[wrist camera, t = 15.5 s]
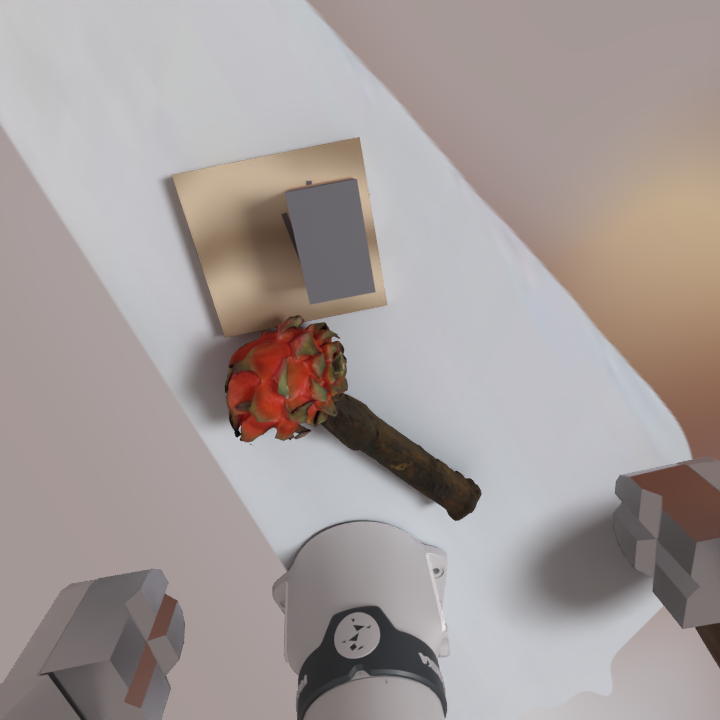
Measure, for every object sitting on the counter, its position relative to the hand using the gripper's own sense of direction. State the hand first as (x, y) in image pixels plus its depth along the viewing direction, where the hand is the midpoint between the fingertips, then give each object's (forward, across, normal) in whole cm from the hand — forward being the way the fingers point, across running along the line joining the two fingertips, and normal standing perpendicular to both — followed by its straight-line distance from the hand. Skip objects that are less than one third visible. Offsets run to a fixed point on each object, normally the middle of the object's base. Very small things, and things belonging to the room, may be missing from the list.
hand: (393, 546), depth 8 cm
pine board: (+29, -4, +2) cm, 29 cm away
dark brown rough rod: (+29, +1, -18) cm, 34 cm away
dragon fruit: (+29, -6, -8) cm, 30 cm away
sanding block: (+28, 0, +2) cm, 28 cm away
